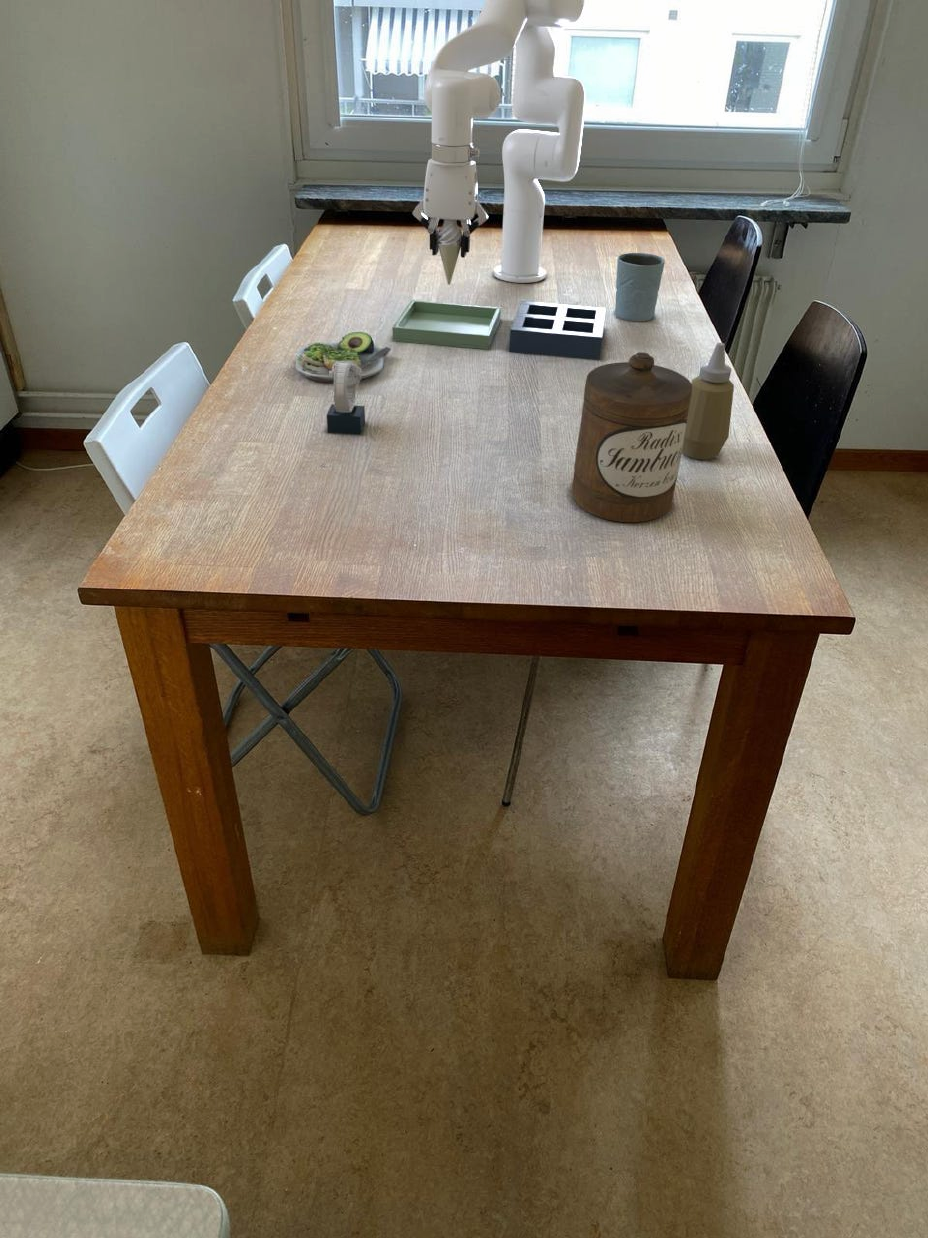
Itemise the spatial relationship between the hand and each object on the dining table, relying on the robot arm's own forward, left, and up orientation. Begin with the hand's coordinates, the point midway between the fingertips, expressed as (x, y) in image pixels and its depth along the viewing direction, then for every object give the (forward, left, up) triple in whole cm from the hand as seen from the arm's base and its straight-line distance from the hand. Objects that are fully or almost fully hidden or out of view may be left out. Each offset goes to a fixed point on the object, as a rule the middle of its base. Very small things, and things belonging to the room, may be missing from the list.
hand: (449, 253), depth 182 cm
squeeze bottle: (+46, +50, -16) cm, 70 cm away
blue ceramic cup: (-20, +38, -16) cm, 46 cm away
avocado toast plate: (+24, -16, -16) cm, 33 cm away
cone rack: (0, +23, -15) cm, 28 cm away
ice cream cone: (0, 0, -6) cm, 6 cm away
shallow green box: (0, 0, -15) cm, 15 cm away
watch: (+50, -8, -16) cm, 53 cm away
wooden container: (+64, +38, -16) cm, 76 cm away
